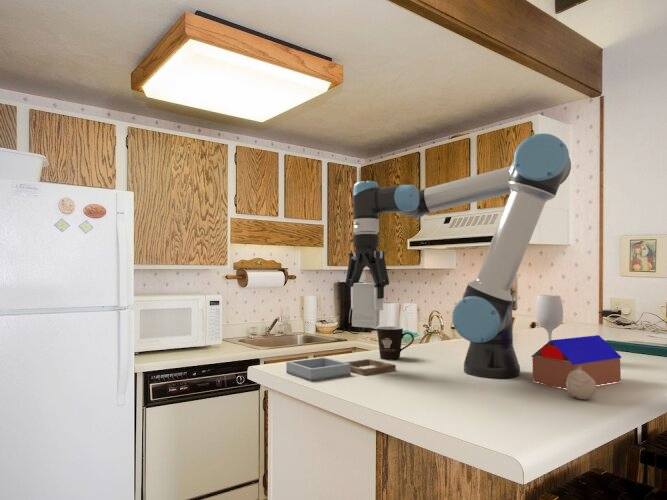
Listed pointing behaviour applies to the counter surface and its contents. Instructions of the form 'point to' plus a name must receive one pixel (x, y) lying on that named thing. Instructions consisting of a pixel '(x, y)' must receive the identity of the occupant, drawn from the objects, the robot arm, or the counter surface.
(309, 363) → the grey tray
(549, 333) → the wineglass
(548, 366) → the house
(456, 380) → the counter surface
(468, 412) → the counter surface
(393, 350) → the coffee mug
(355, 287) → the supplement box
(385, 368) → the walnut collar
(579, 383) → the garlic bulb
